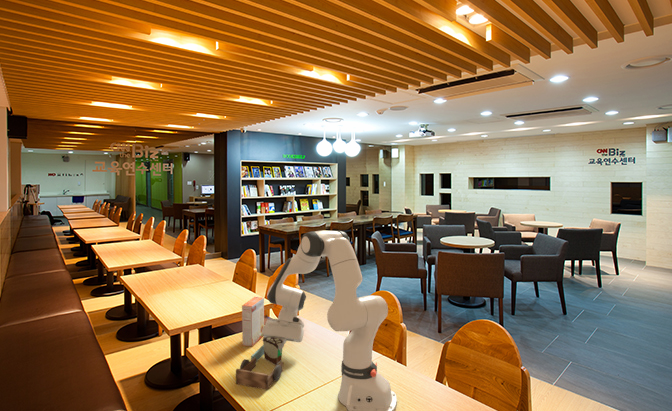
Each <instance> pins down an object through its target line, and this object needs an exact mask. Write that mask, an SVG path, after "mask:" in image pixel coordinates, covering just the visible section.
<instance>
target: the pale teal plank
mask: <svg viewBox="0 0 672 411" xmlns="http://www.w3.org/2000/svg"><path fill="white" fill-rule="evenodd" d="M254 357H255V358H256V363H257V362H259V360H260V359H261V358H262V357H264V344H262V346H260V347H259V348H258V349H257V350H256V351H255V352H253V354H252V355H251V356H250V361H251V360H252V359H253V358H254Z"/></svg>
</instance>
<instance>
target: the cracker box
mask: <svg viewBox="0 0 672 411" xmlns="http://www.w3.org/2000/svg"><path fill="white" fill-rule="evenodd" d="M264 299H265V297H260V296H254V297H252V298H251V299H250V300H248V301H247V302H245V303H244V304H243V305H241V322H242V323H241V324H242V325H241V326H242V328H241V330H242V335H241V336H242V338H241V339H242V346H246V347H254V346H255V345H256V344H257V343H258V342H259V341H260V340H261V339H263V337H264V336H263V335H262V330H263V328H264V326H265V300H264Z"/></svg>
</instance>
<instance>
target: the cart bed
mask: <svg viewBox="0 0 672 411" xmlns="http://www.w3.org/2000/svg"><path fill="white" fill-rule="evenodd" d="M256 367H257V362H256V358H255V357H254V358H253V359H252V360H251V359H250V360H249V359H247V358H245V359H243V360H242V361H241V363H240V366H239V368H236V369H235V384H236V385H239V386H244V387H249V388H254V389H260V390H264V391H268V390H269V388H270V387H271V386H272V384H274V383H275V381H276V382H278V381H279V380H280V378H281V375H282V373H283V372H284V362H283V361H281V362H280V363H279V364H278V365H274V368H273V370H272V371H271V372H270V373H269V374H268V373H263V372H257V371H253V370H254V369H255V368H256Z"/></svg>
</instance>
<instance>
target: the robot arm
mask: <svg viewBox="0 0 672 411" xmlns="http://www.w3.org/2000/svg"><path fill="white" fill-rule="evenodd" d="M321 257H327V258H328V260H329V261H328V262H329V266H330V269H331V274H332V278H333V281H334V287H335V288H334V289H335V293H334V298H333V301H332V303H331V305H330V306H329V308H328V309H327V315H326V317H327V322H328V324H329V327H330V328H331V330H333V331H335V332H349V334H348V335H347V336H345V338H344V340H343V346H342V360H341V365H340V367H341V369H340V370H341V383H340V388H339V391H338V393H337V394H338V395H337V399H338V400H339V402H340V403H341V404H342V405H343V406H345V407H346V410H347V411H395V410H396V408H397V406H398V404H397V403H398V397H397V394H396V392H395V391H393V390H392V387H391V385H390V382H389V380H388V379H386V378H385V377H384V376H383V375H382V374H380V373H379V372H378V367H377V366H378V363H377V362H375V363H374V361H372V360H373V348H374V346H373V344H374V341H375V340H374V339H375V337H376V335H377V332H378V330H379V328H380V326H381V324H382V323H383V322H384V321H385V319H386V318H387V317H388V313H389V308H388V302H386V299H385V298H383V297H382V296H380V295H371V294H369V295H363V296H360V297H358V295H357V288H358V287H359V286H360V285H361V284H362V282H363V275H362V271H361V270H362V269H361V267H360V264H359V261H358V258H357V255H356V253H355V250H354V248H353V246H352V244H351V242H350V238H349V235H348V234H347V232H345V231H342V230H323V229H322V230H316V231H314V230H313V231H308V232H306V233H304V234H303V235H302V237H301V240H300V244H299V246H298V248H297V252H296V254H295V255H294V256H292V257H289V258H288V259H286V260H285V262H284V264H283V266H281V269H280V271H279V273H278V274H277V276H276V278H274V281H273V283H272V284H271V285H270V286H269V287H268V290H267V295H266V298H267V300H268V301H269V303H270V304H272V305H279V306H282V308H281V309H280V311H279V314H278V317H277V318H271V317H269V318H268V319H267V320H266V321H265V322H264V328H263V330H262V335H263V337H267V336H277V337H280V338H282V339H283V342H284V345H285V344H286V342H292V343H293V342H294V343H301V342H302V341H303V338H304V333H305V330H304V327H305V324H304V321H303V320H302V319H301V318H299V317H298V312H299V311H301V310H302V309H304V306H305V305H304V304H305V301H306V299H307V296H306V293H305V291H303V290H302V289H299V288H297V287H292V286H289V285H285V284H284V283H285V280H286V279H287V277H288V276H290V275H296V274H297V275H299V274H300V275H304V274H309V273H311V272H313V271H315V270H316V269H317V267H318V265H319V263H320V260H321Z"/></svg>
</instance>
